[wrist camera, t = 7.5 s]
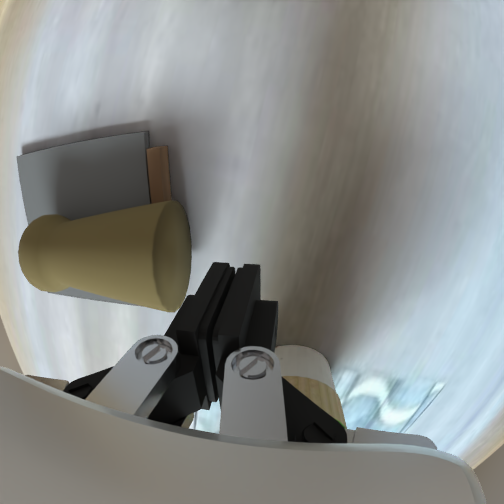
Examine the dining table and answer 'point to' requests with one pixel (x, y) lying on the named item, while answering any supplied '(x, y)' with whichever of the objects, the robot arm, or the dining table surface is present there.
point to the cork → (113, 254)
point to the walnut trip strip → (159, 174)
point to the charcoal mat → (86, 182)
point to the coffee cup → (311, 377)
